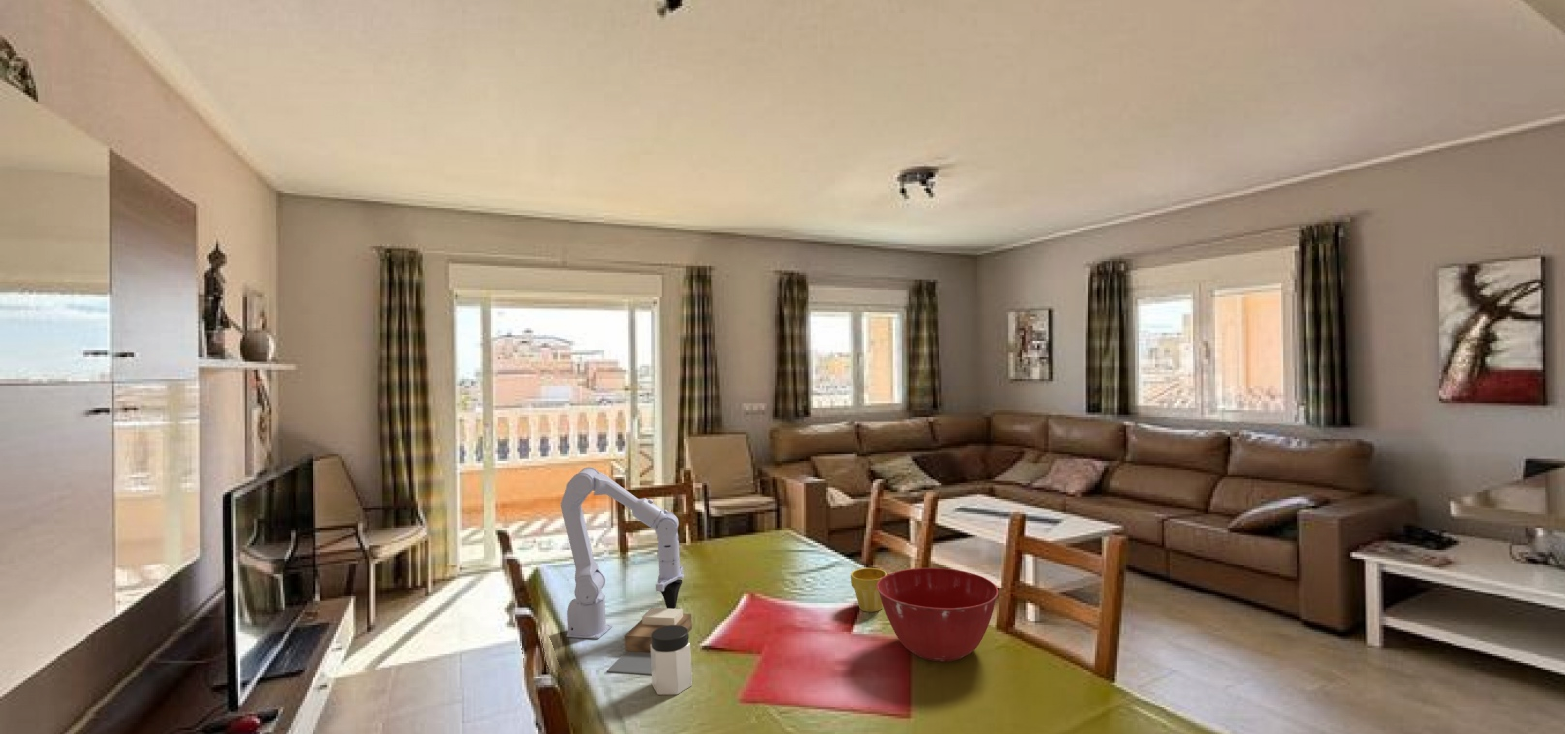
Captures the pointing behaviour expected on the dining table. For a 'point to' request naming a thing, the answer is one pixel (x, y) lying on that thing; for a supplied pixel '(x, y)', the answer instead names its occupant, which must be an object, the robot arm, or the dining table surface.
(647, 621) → the cream rectangular block
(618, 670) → the mat
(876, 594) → the plant pot
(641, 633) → the plate
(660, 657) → the jar
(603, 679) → the dining table surface
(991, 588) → the mixing bowl
